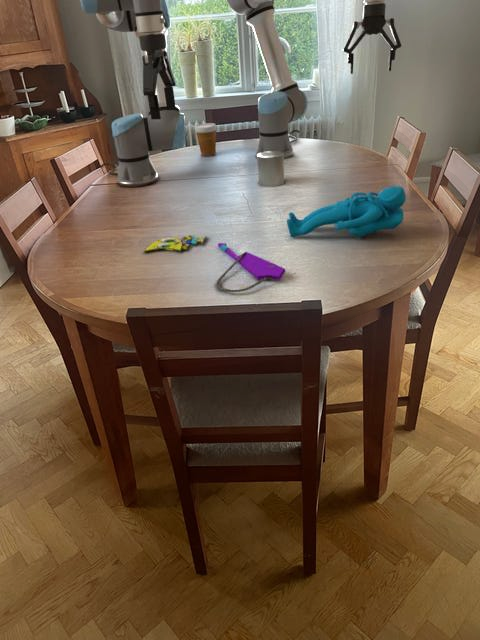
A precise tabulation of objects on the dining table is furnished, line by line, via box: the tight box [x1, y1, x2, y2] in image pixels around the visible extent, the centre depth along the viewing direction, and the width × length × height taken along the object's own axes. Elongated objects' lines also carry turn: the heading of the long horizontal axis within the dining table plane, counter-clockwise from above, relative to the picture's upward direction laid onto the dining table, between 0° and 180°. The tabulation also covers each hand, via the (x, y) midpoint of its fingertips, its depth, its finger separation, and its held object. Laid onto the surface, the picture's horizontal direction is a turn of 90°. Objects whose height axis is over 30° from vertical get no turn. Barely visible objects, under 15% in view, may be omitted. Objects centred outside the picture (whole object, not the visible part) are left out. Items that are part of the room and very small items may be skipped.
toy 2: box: [286, 185, 407, 238], centre depth 125 cm, size 17×11×30 cm
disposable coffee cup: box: [194, 122, 218, 157], centre depth 207 cm, size 10×10×12 cm
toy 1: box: [144, 234, 207, 254], centre depth 130 cm, size 10×1×15 cm
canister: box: [256, 151, 285, 187], centre depth 168 cm, size 9×9×10 cm
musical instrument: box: [216, 242, 286, 293], centre depth 114 cm, size 24×2×20 cm
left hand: (164, 114), depth 146 cm, fingers open, 13 cm apart
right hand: (370, 72), depth 177 cm, fingers open, 13 cm apart
